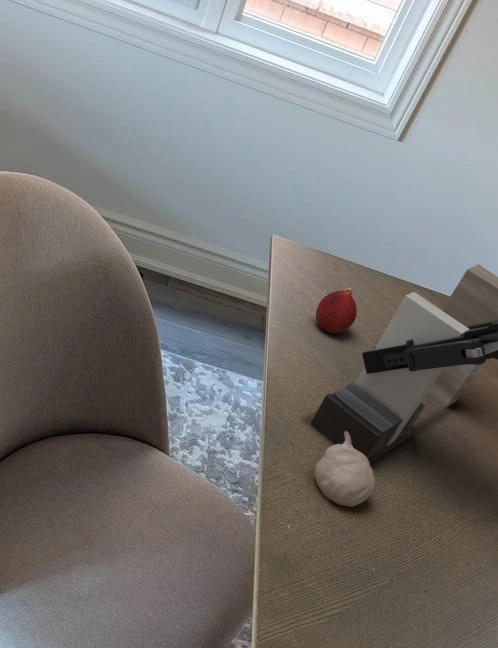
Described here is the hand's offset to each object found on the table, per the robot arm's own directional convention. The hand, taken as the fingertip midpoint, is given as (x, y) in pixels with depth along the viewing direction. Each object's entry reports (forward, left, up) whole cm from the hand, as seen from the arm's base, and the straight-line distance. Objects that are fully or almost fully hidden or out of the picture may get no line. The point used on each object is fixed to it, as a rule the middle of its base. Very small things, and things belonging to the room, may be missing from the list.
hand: (372, 359), depth 96 cm
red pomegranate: (+3, -19, -9) cm, 21 cm away
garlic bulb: (+1, +17, -9) cm, 19 cm away
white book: (-3, +2, -8) cm, 9 cm away
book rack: (-6, -2, -9) cm, 11 cm away
